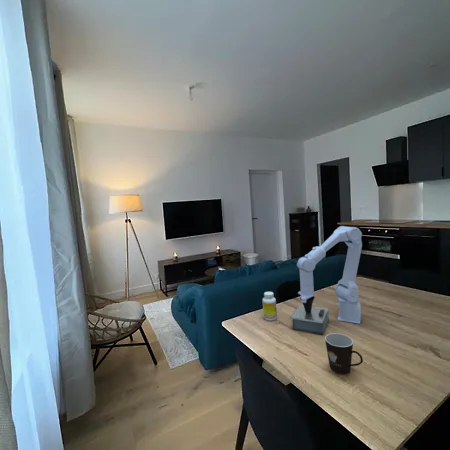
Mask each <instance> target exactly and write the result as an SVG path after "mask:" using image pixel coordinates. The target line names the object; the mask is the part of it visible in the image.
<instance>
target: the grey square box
mask: <svg viewBox="0 0 450 450" xmlns="http://www.w3.org/2000/svg"><path fill="white" fill-rule="evenodd" d="M291 320H292V321H291V322H292V330H295V331H299V332H303V333H309V334H310V333H311V334H316V335H319V336H324V335H325V333H326V329H327V326H328V325H329V322H330V321H329V311H328V312H327V314H326V317H325V319H324V321H323V323H316V322H310V321H303V320H297V319H291Z"/></svg>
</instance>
